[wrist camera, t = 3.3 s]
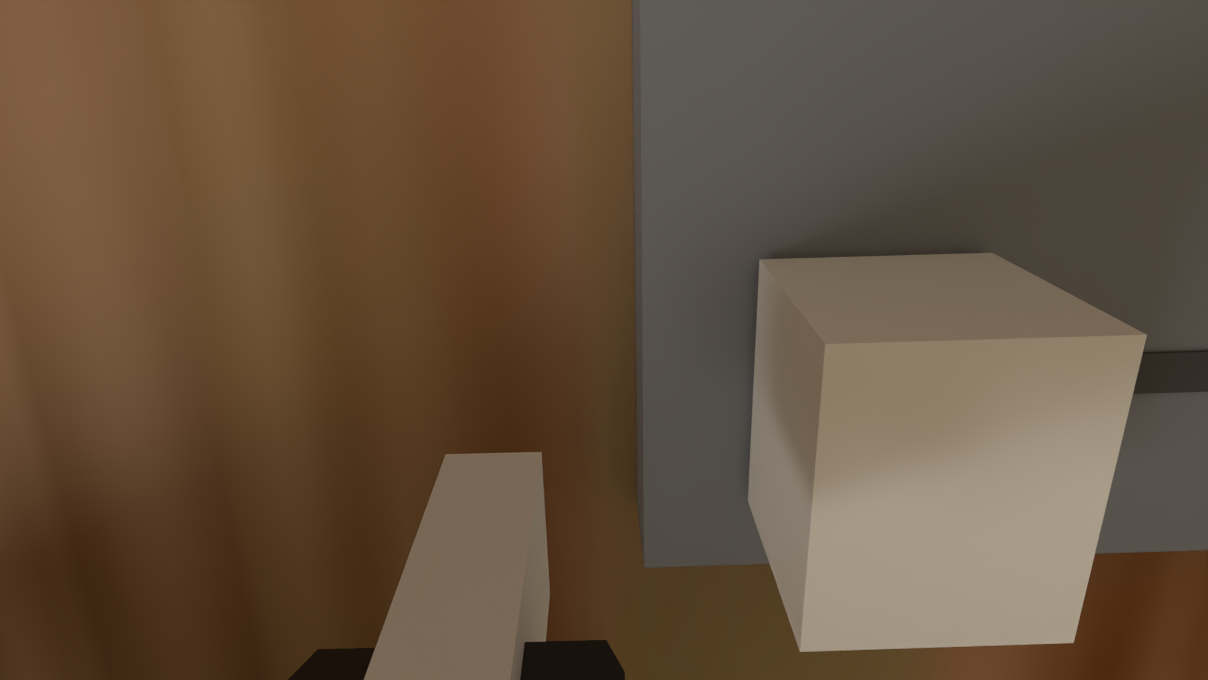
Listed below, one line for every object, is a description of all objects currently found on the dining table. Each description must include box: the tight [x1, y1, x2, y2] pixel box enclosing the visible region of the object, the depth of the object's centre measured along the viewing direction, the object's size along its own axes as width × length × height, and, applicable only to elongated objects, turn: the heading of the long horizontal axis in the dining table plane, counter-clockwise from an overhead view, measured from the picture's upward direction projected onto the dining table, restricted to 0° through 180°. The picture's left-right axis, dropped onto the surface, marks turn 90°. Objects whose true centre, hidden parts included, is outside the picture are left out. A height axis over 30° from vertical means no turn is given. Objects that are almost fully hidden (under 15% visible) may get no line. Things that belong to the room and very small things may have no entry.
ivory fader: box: [748, 253, 1147, 652], centre depth 16 cm, size 5×6×5 cm
